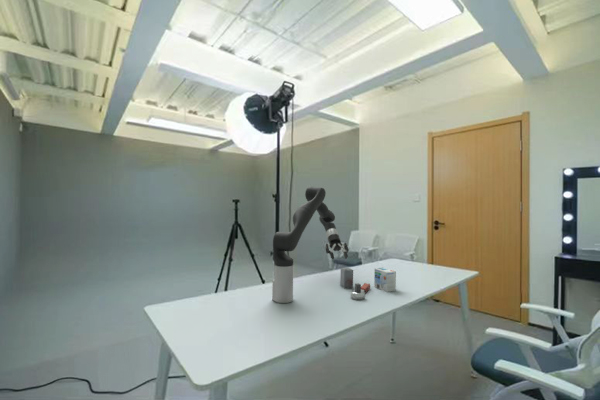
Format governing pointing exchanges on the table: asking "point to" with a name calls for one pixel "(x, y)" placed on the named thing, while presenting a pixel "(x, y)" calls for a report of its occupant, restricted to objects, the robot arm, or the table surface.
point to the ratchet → (359, 291)
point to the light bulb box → (385, 279)
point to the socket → (346, 278)
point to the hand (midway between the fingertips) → (339, 258)
